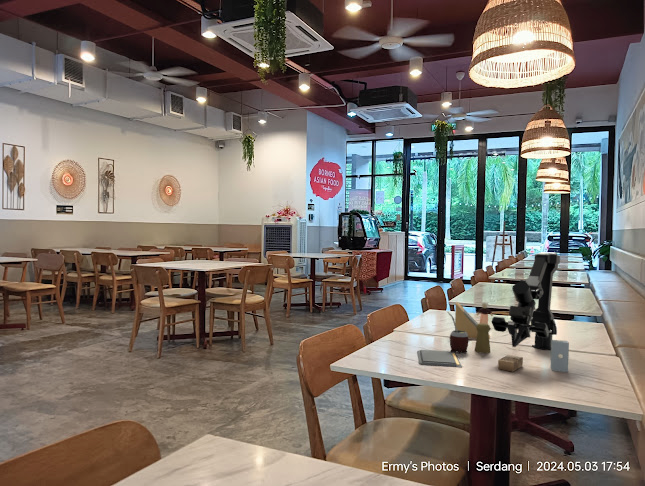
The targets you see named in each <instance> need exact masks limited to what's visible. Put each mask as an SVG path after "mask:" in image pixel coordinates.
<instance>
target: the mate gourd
mask: <svg viewBox="0 0 645 486" xmlns="http://www.w3.org/2000/svg"><path fill="white" fill-rule="evenodd" d="M447 313H448V315H449V316H450V317H451V320H452V321H453V322H452V323H453V326H454V330H452V331H451V332H450V335H449V345H450V352H452V353H458V355H461V353H465V354H466V353H468V346H469V342H470V341H469V337H468V335H467V333H466V332H465V331H460V330H457V328H456V324H455V317H454V316H453V315H452V314H451V313H450V312H449V311H447ZM455 329H456V330H455Z"/></svg>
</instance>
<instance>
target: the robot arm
mask: <svg viewBox="0 0 645 486" xmlns="http://www.w3.org/2000/svg"><path fill="white" fill-rule="evenodd" d="M560 263H561V256H560V255H558V253H557V252H547V251H546V252H545V251H543V252H541V251H540V252H538V253H535V254H534V262H533V264H532V267H531V269H530V272H529V275H528V277H527V278H526V279H524V280H523V279H520V281H519V282H516V283H514V284H513V285H512V288H511V290H512V292H513V296H514V298H515V301H516V303H517V305H510V306H509V312H508V315H509V316H510V320H508V321H506V320H505V317H500V316H492V318H491V324H492V327H493V329H494V331H496V332H500V333H504V332H507V331H508V333H509V335H510V337H511V346H512V348H516V347H517V346H518V345H519V344H520V343H522V342H523V341H524V340H526V339H527V338H531V333H534V334H535V335H534V344H532V345H531V347H533V348H537V349H540V350H544V351H547V350H551V340H553V336H554V335H555V336H557V334H558V328H557V324H556V321H555V315H554V314H553V312H552V310H551V302H552V293H553V292H552V291H553V290H552V289H553V277H554V274H555V272H556V271H557V270H558V269H559V264H560ZM535 300H538V305H537V308H536V304H537V303H536V301H535Z"/></svg>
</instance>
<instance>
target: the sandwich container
mask: <svg viewBox="0 0 645 486" xmlns="http://www.w3.org/2000/svg"><path fill="white" fill-rule="evenodd" d="M454 321H455V324H456V328H457V330H460V331H465V332H466V333H467V335H468V338H472V339H473V338H475V339H477V333H478V331H477V329H476V326H477V324H479V323H478V322H477V321H476V320H475V318H473V316H472V315H471V314H470V313H468V311H467V310H466V309H465V308H464V307H463V306H462V304H460V303H459V302H458V301H456V303H455V315H454ZM454 330H456V329H455V328H454ZM489 340H491V336H490V334H489Z"/></svg>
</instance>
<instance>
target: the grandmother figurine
mask: <svg viewBox="0 0 645 486" xmlns="http://www.w3.org/2000/svg"><path fill="white" fill-rule="evenodd" d="M488 307H489V302H487V301H486V300H484V301H482V302H481V308H480V309H479V310H478V311H477V313H476V316H479V315H480V316H479V323H486V324H488V325H489V315H490V317H494V315H493V313H492V312H493V311H491V309H489V308H488Z"/></svg>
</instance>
